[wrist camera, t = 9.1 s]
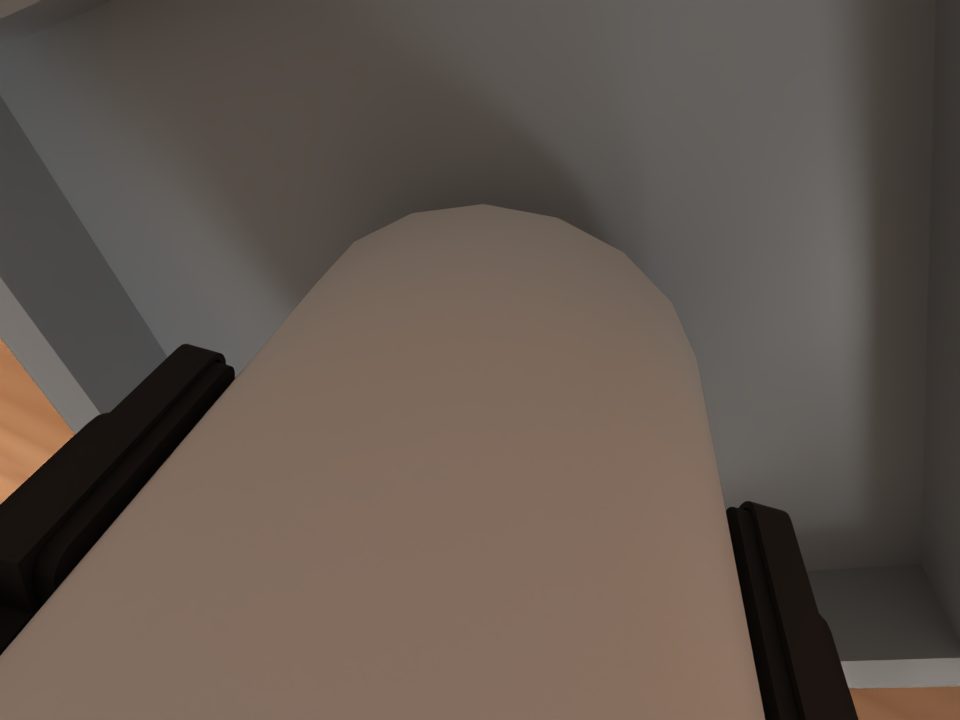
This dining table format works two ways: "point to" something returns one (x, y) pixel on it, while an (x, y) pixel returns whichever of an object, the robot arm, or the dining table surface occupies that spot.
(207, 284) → the parts tray
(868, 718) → the dining table surface
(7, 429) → the dining table surface
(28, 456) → the dining table surface
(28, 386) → the dining table surface
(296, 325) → the can
